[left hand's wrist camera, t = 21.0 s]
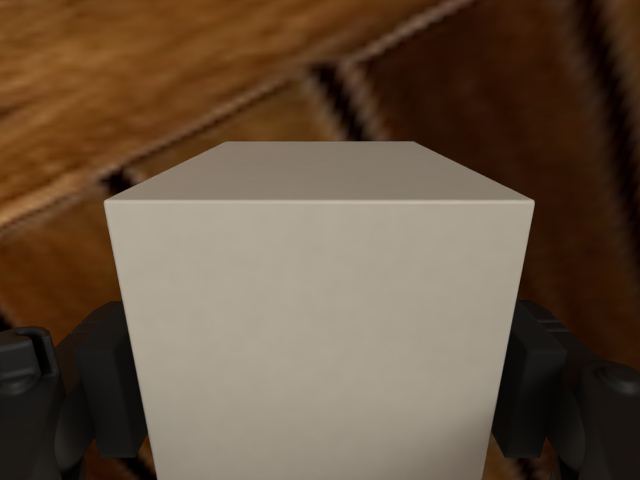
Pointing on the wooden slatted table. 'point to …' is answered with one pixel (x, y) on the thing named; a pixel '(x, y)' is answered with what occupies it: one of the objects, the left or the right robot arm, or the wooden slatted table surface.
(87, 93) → the wooden slatted table surface
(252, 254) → the beige block
